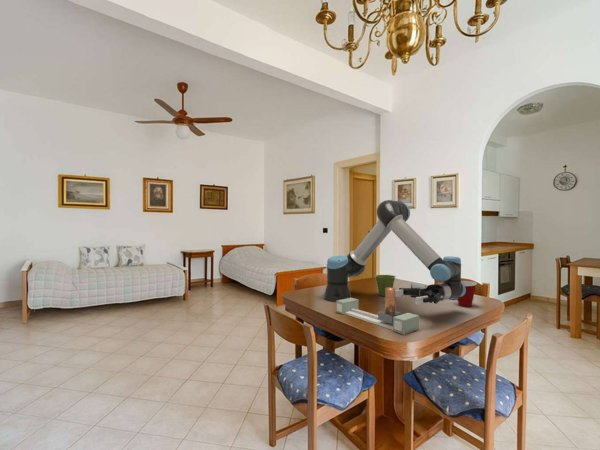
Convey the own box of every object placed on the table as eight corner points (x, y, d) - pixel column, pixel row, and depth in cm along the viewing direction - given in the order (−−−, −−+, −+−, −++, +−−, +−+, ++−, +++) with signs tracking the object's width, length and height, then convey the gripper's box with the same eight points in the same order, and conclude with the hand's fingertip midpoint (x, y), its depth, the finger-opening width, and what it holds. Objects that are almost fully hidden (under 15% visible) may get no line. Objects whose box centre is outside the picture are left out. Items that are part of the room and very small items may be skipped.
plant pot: (391, 292, 187) (391, 274, 187) (398, 297, 175) (398, 277, 175) (372, 293, 186) (372, 274, 186) (378, 297, 174) (378, 278, 174)
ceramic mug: (426, 298, 173) (426, 284, 173) (411, 297, 175) (411, 284, 175) (424, 294, 183) (424, 281, 183) (409, 293, 185) (410, 280, 185)
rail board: (335, 312, 146) (335, 300, 146) (351, 308, 152) (351, 297, 152) (403, 335, 116) (403, 320, 116) (419, 329, 122) (419, 315, 122)
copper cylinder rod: (378, 319, 128) (378, 288, 128) (388, 316, 132) (388, 285, 132) (392, 323, 122) (392, 290, 122) (402, 320, 127) (402, 288, 127)
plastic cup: (448, 303, 163) (448, 280, 163) (468, 302, 163) (468, 280, 163) (460, 308, 152) (460, 284, 152) (481, 308, 153) (481, 284, 153)
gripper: (463, 307, 129) (427, 314, 119) (416, 294, 151) (382, 299, 141) (463, 289, 129) (428, 294, 119) (416, 279, 151) (383, 283, 141)
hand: (403, 297), depth 130 cm, fingers open, 13 cm apart
